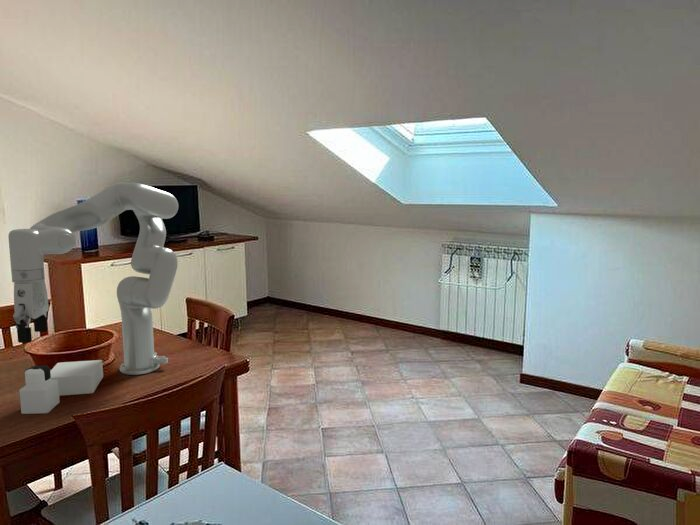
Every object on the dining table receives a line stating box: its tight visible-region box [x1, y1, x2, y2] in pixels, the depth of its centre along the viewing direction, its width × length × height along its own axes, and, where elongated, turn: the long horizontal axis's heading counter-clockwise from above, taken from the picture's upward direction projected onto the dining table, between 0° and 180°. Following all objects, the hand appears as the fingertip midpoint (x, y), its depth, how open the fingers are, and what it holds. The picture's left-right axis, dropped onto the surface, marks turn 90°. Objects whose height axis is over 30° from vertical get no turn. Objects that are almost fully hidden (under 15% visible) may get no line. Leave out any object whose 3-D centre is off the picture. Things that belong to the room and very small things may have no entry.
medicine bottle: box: [18, 364, 61, 415], centre depth 144 cm, size 7×7×12 cm
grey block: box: [50, 359, 104, 397], centre depth 160 cm, size 13×13×6 cm
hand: (33, 336), depth 141 cm, fingers open, 9 cm apart
